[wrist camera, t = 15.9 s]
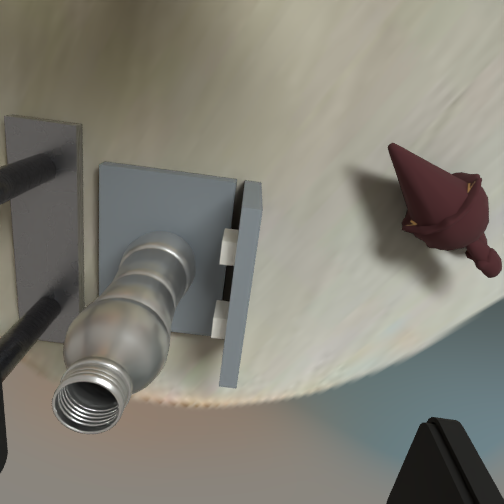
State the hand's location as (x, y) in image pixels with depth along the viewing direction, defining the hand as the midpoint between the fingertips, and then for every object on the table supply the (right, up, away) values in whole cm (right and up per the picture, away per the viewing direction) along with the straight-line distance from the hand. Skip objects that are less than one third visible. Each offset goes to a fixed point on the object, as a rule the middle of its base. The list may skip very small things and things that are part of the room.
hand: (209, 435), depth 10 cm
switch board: (-6, +4, +33) cm, 33 cm away
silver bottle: (-7, +4, +31) cm, 32 cm away
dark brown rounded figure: (+17, +9, +31) cm, 36 cm away
